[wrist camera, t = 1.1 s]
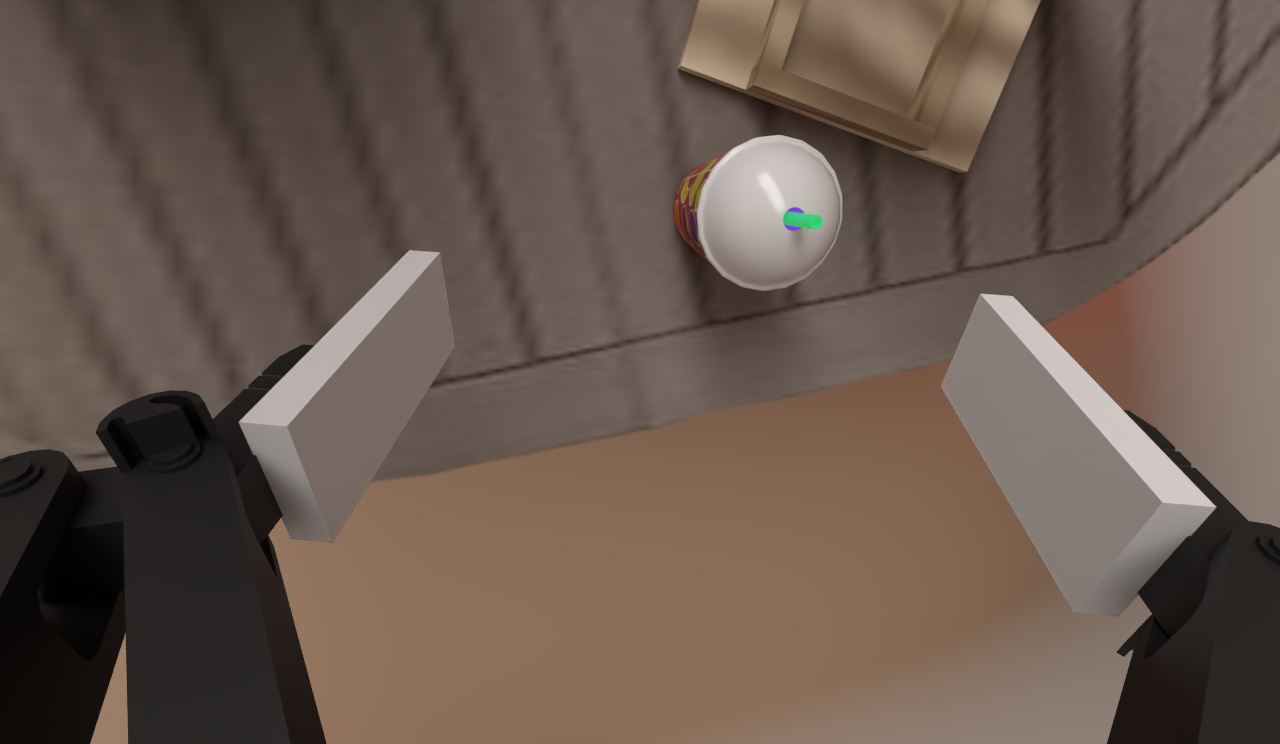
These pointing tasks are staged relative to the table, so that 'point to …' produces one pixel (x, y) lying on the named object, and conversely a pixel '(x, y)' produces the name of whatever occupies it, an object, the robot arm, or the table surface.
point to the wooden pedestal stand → (869, 64)
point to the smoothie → (762, 212)
